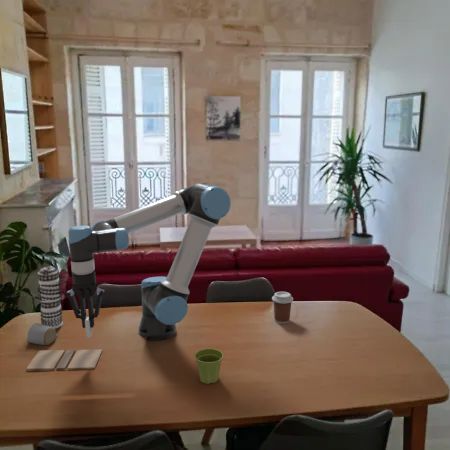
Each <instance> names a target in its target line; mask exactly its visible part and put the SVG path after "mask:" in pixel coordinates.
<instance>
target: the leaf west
mask: <svg viewBox="0 0 450 450" xmlns="http://www.w3.org/2000/svg"><path fill="white" fill-rule="evenodd" d="M102 353H103V349H98V348H97V349H77V350H75V353H74V355H73V356H72V358H71V360H70V362H69V364H68V365H67V371H72V370H73V371H75V370H95V369H96V368H97V364H98V362H99V360H100V357H101V356H102Z"/></svg>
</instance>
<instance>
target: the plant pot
mask: <svg viewBox="0 0 450 450" xmlns="http://www.w3.org/2000/svg"><path fill="white" fill-rule="evenodd" d="M194 359H195V361H196V363H197V368H198V369H197V370H198V374H199V375H198V376H199V380H200V382H201V383H203V384H206V385H207V384H208V385H209V384H215V383H217V382H218V381H219V377H220V371H221V363H222V360H223V359H224V354H223V352H222V351H221V350H219V349H217V348H216V349H215V348H204V349H199V350H197V351H196V352H195V353H194Z"/></svg>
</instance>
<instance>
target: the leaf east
mask: <svg viewBox="0 0 450 450" xmlns="http://www.w3.org/2000/svg"><path fill="white" fill-rule="evenodd" d="M65 353H66V351H65V350H64V349H60V350H59V349H53V350H52V349H49V350H47V349H44V350H43V349H42V350H40V349H39V350H38V351H37V353H36V355H35V356H34V357H33V358H32V359H31V361H30V363H29V364H28V365H27V367H26V368H25V370H26V372H40V371H41V372H42V371H43V372H44V371H45V372H49V371H54V370H55V369H56V368H57V366H58V365H59V363H60V361H61V359H62V358H63V356H64V354H65Z"/></svg>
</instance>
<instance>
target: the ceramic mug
mask: <svg viewBox="0 0 450 450" xmlns="http://www.w3.org/2000/svg"><path fill="white" fill-rule="evenodd" d="M58 335H59V334H58V333H57V332H56V328H55V329H54V328H52V327H50V326H46V325H42V324H41V323H37V322H36V323H34V324H32V325H31V326H30V327H29V328H28V331H27V336H26V337H27V341H28V342H29V343H30V344H36V345H42V346H48V345H50V344H51V343H53V342H54V341H55V340H56V339H57V338H58Z"/></svg>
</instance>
